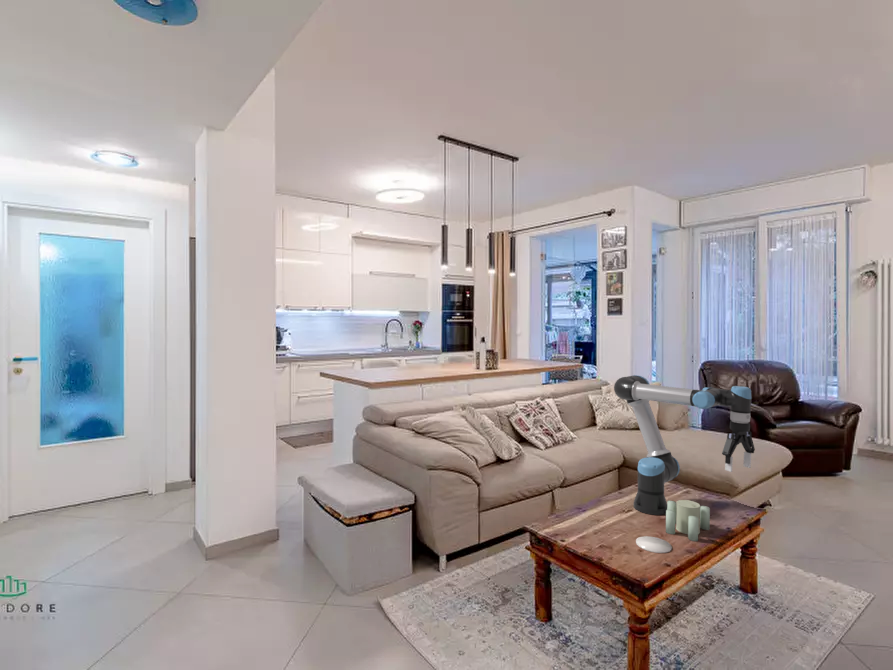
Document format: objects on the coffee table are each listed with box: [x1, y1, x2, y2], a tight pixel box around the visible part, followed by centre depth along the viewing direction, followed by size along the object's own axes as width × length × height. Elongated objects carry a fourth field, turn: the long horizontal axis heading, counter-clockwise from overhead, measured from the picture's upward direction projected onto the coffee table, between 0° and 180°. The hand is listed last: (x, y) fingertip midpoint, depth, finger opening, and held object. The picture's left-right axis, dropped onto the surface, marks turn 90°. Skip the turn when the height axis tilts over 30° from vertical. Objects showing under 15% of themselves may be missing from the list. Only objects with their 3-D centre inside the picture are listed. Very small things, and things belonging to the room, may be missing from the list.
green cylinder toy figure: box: [675, 499, 701, 535], centre depth 200 cm, size 9×9×12 cm
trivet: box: [635, 535, 673, 554], centre depth 186 cm, size 13×13×1 cm
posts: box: [665, 500, 711, 542], centre depth 200 cm, size 17×21×9 cm
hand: (737, 468), depth 207 cm, fingers open, 13 cm apart
